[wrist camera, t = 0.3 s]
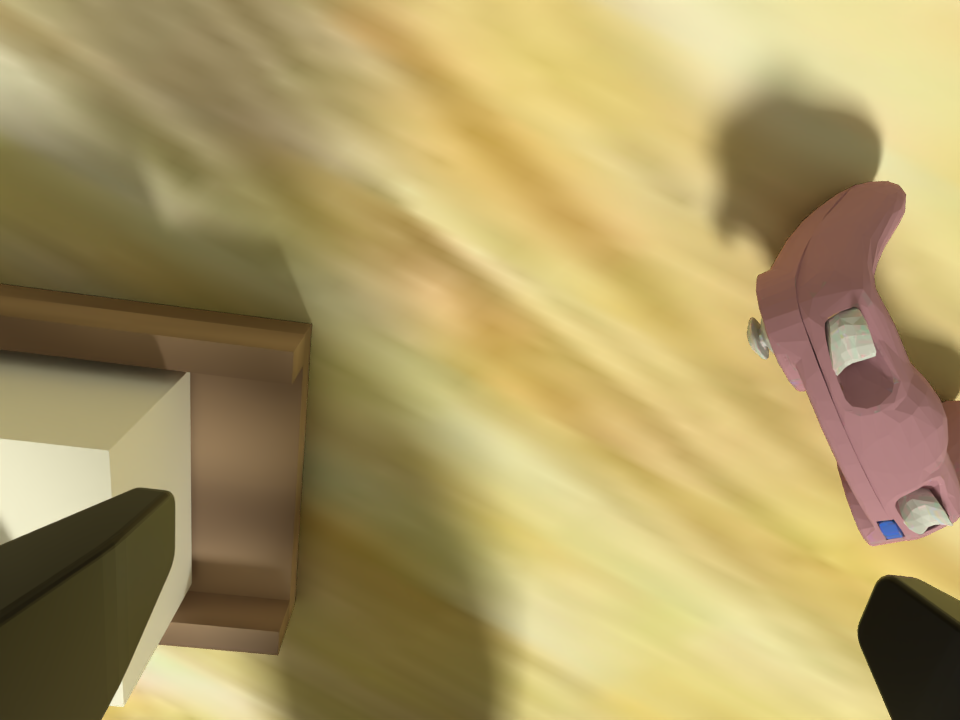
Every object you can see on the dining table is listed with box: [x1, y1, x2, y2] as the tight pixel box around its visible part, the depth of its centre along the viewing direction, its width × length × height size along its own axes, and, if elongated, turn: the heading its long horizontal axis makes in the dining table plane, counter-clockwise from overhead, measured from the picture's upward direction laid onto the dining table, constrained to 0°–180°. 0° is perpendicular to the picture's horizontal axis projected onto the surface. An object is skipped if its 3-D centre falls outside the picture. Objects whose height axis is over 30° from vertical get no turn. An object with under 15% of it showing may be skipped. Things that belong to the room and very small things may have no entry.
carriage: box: [0, 349, 192, 707], centre depth 18 cm, size 8×6×6 cm
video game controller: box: [747, 181, 960, 546], centre depth 19 cm, size 10×5×7 cm, turn 32°
